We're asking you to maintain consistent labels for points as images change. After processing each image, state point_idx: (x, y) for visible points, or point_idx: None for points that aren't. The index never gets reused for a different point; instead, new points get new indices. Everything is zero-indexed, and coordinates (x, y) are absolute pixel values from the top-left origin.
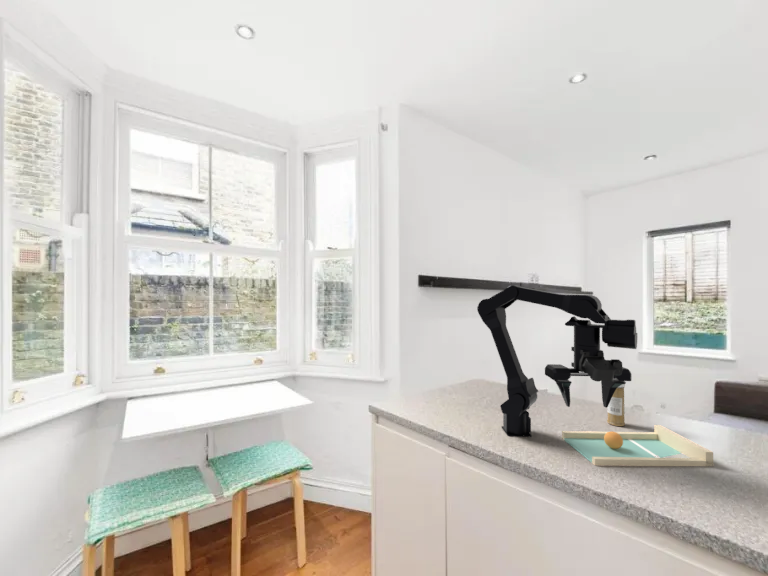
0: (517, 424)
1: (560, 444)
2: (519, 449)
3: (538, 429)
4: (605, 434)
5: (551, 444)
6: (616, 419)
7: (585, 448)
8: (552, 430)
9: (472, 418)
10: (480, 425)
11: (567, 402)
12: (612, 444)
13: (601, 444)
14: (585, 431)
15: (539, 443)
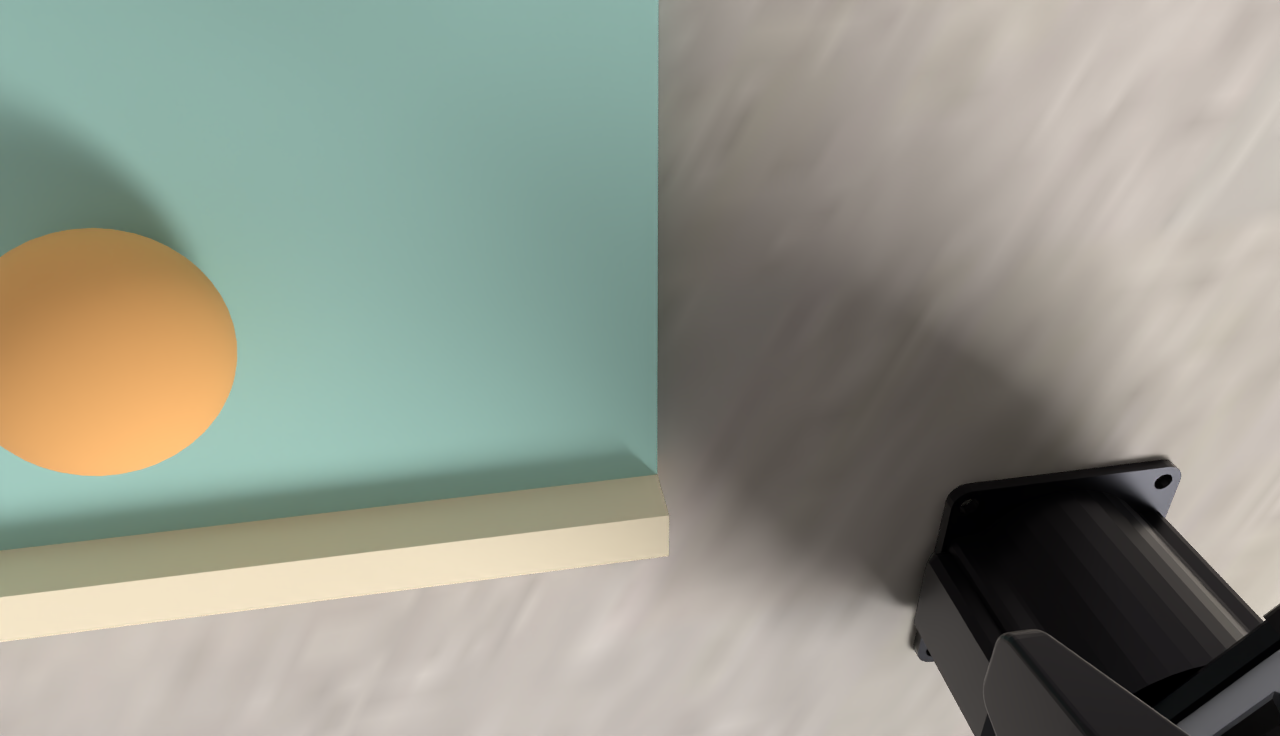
0: (1154, 569)
1: (747, 356)
2: (1272, 178)
3: (788, 644)
4: (198, 416)
5: (848, 343)
6: None
7: (534, 234)
8: (658, 649)
9: None
10: None
11: (1141, 701)
12: (158, 247)
13: (268, 373)
14: (383, 589)
15: (965, 350)
